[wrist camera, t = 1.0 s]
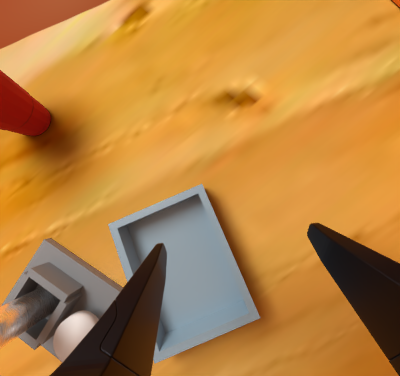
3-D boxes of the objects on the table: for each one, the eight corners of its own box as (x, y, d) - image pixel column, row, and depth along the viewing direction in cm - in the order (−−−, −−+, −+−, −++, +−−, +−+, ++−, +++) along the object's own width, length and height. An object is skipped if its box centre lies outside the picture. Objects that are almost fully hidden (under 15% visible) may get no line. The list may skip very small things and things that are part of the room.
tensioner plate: (131, 293, 23) (117, 309, 20) (87, 369, 22) (64, 401, 19) (50, 238, 25) (24, 243, 21) (6, 306, 24) (-29, 324, 20)
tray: (252, 300, 22) (260, 318, 19) (163, 339, 22) (154, 363, 19) (202, 186, 25) (201, 183, 21) (122, 221, 25) (108, 224, 21)
